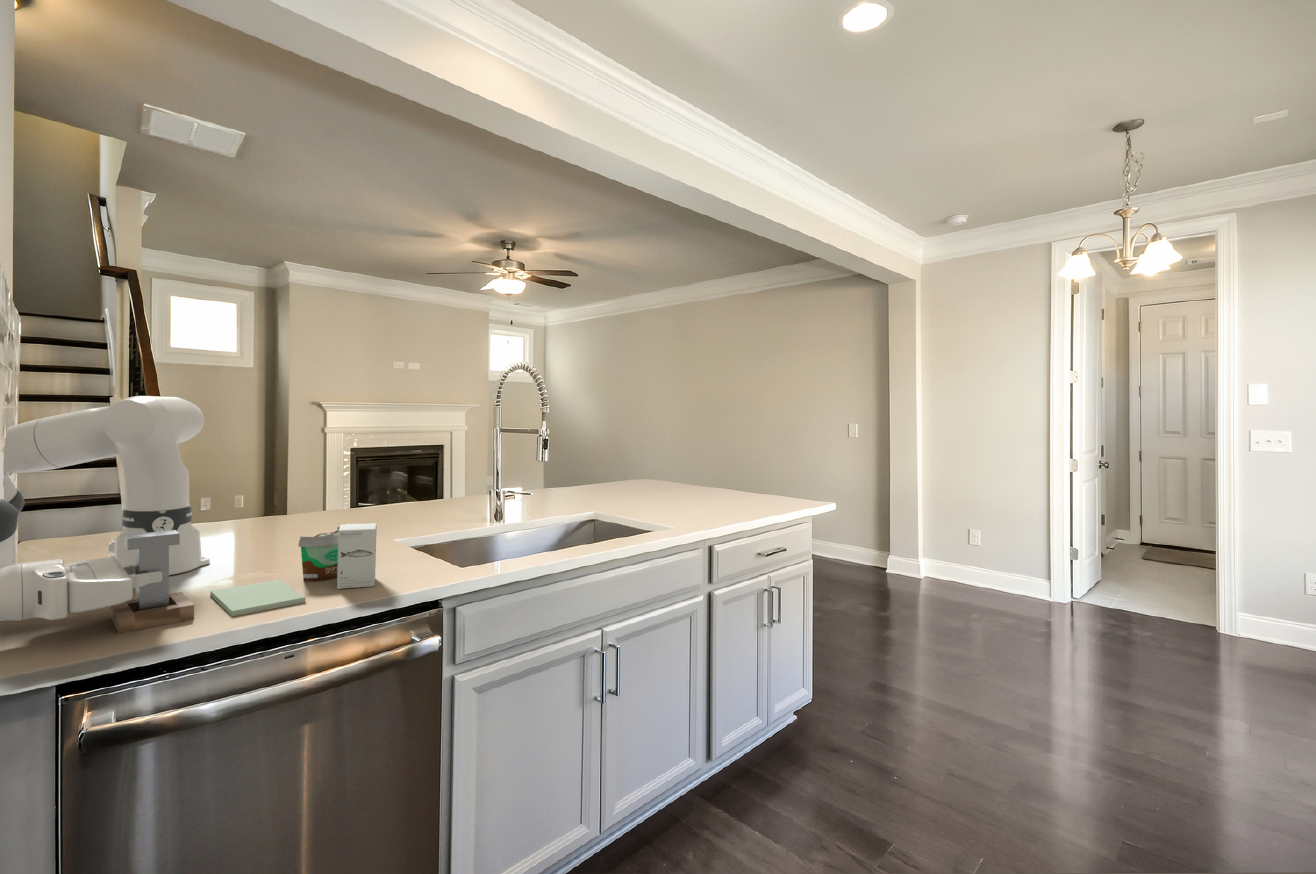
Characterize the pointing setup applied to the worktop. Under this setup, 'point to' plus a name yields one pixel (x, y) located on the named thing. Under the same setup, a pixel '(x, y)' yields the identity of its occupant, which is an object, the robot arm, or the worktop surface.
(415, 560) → the worktop surface
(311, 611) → the worktop surface
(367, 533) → the supplement box
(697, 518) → the worktop surface
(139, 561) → the t-key
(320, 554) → the food container
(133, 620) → the socket block
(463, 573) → the worktop surface
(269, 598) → the green mat
